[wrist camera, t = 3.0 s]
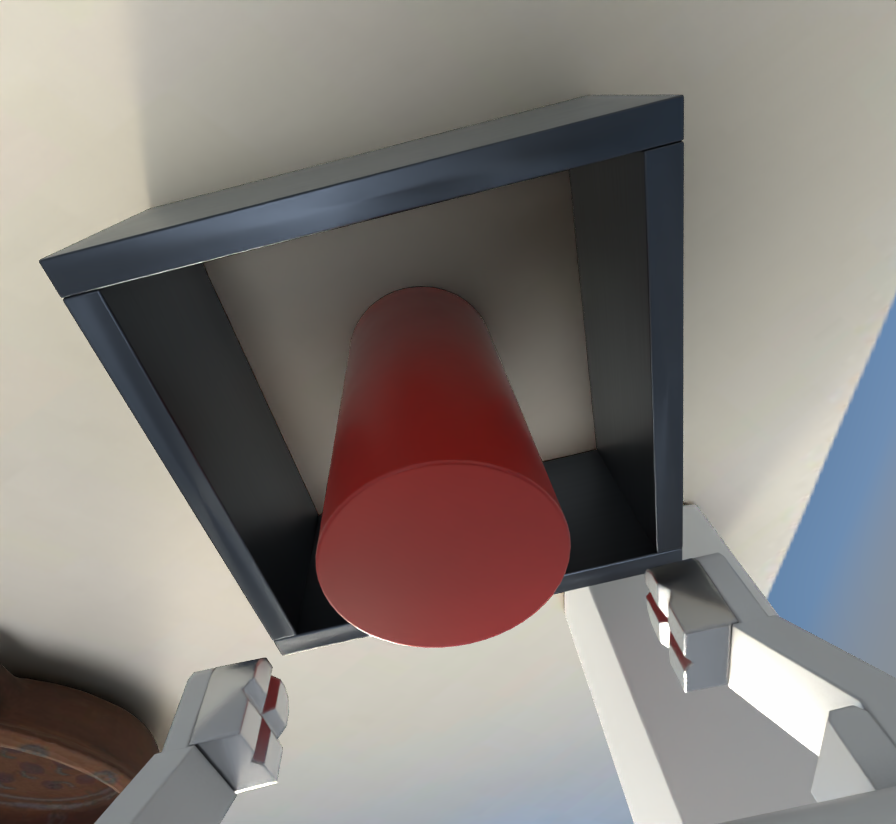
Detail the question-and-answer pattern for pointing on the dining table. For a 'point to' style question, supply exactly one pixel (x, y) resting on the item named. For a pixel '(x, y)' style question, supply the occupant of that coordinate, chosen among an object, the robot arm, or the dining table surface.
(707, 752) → the milk carton
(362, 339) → the can
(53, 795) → the dish
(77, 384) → the dining table surface
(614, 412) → the open box
